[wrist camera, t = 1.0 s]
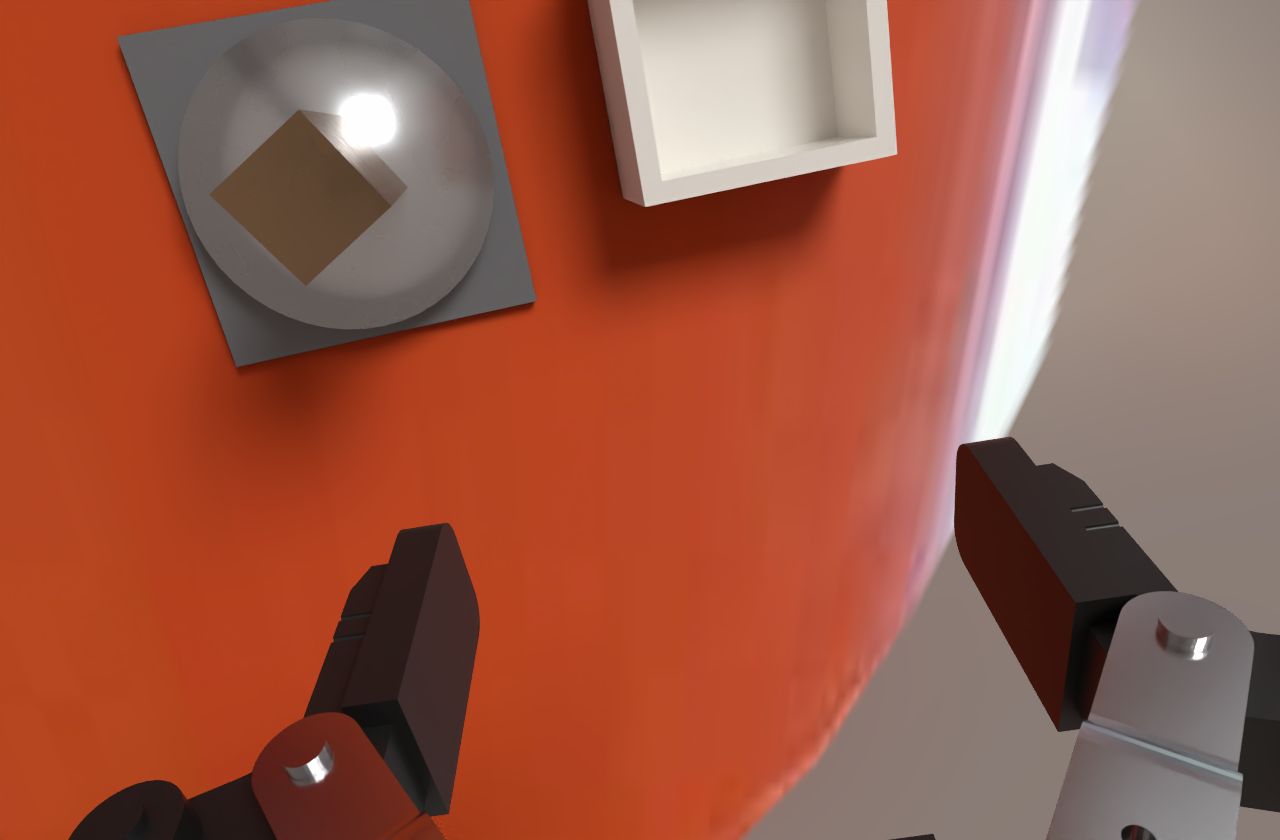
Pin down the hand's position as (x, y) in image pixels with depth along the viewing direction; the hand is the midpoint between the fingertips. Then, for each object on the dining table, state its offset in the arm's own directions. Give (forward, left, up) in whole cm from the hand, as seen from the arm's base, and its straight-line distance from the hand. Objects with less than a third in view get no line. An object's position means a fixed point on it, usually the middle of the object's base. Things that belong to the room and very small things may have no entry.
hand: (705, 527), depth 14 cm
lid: (-6, +6, -20) cm, 22 cm away
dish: (+8, +8, -20) cm, 23 cm away
